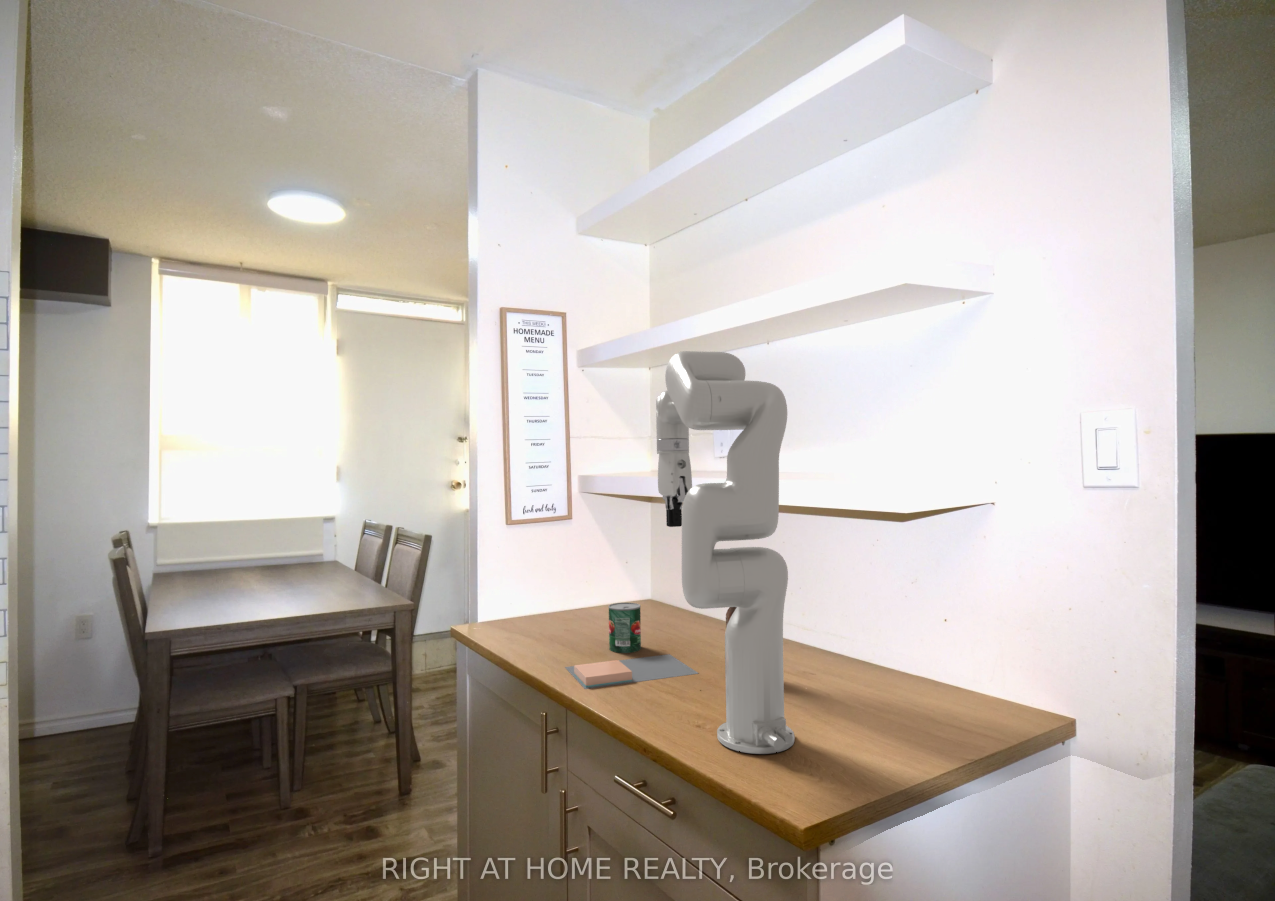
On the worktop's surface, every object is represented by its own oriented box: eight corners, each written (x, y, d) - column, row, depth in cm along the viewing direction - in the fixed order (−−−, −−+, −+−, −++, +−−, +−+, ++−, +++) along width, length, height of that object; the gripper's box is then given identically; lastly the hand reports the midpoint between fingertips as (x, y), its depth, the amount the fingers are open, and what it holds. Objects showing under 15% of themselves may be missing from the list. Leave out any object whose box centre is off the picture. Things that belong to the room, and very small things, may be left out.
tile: (618, 668, 151) (632, 680, 143) (574, 674, 148) (585, 687, 139) (617, 659, 151) (631, 671, 143) (574, 665, 148) (585, 677, 139)
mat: (699, 675, 147) (698, 673, 147) (584, 691, 138) (584, 688, 138) (669, 656, 162) (669, 654, 162) (564, 669, 153) (564, 666, 153)
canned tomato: (605, 648, 170) (604, 603, 171) (635, 644, 173) (634, 601, 173) (614, 656, 163) (613, 610, 163) (645, 653, 165) (644, 607, 165)
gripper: (701, 446, 154) (703, 528, 153) (674, 448, 168) (676, 523, 167) (670, 446, 151) (672, 530, 151) (646, 448, 165) (647, 524, 165)
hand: (674, 526), depth 159 cm, fingers closed
